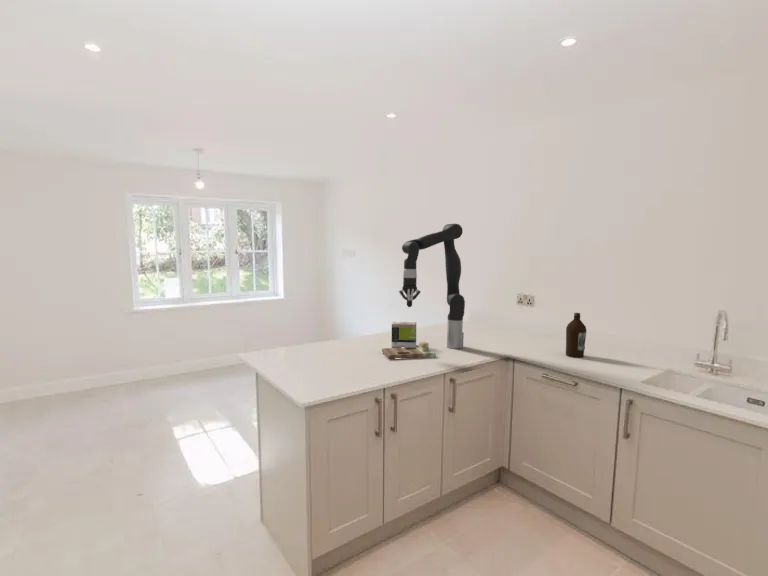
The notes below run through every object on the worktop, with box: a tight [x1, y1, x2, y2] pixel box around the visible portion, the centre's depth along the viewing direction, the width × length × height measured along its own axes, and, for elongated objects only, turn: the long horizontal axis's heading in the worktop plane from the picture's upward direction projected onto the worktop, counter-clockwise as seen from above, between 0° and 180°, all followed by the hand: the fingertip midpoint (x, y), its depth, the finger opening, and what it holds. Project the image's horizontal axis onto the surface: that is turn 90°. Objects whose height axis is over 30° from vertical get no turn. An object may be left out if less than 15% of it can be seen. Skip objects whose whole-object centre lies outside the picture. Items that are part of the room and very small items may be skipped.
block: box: [418, 341, 430, 351], centre depth 243 cm, size 4×4×4 cm
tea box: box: [391, 321, 417, 348], centre depth 261 cm, size 15×10×15 cm, turn 84°
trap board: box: [381, 346, 436, 360], centre depth 241 cm, size 27×15×2 cm, turn 104°
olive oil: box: [565, 312, 587, 359], centre depth 243 cm, size 11×11×25 cm
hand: (409, 306), depth 243 cm, fingers closed
